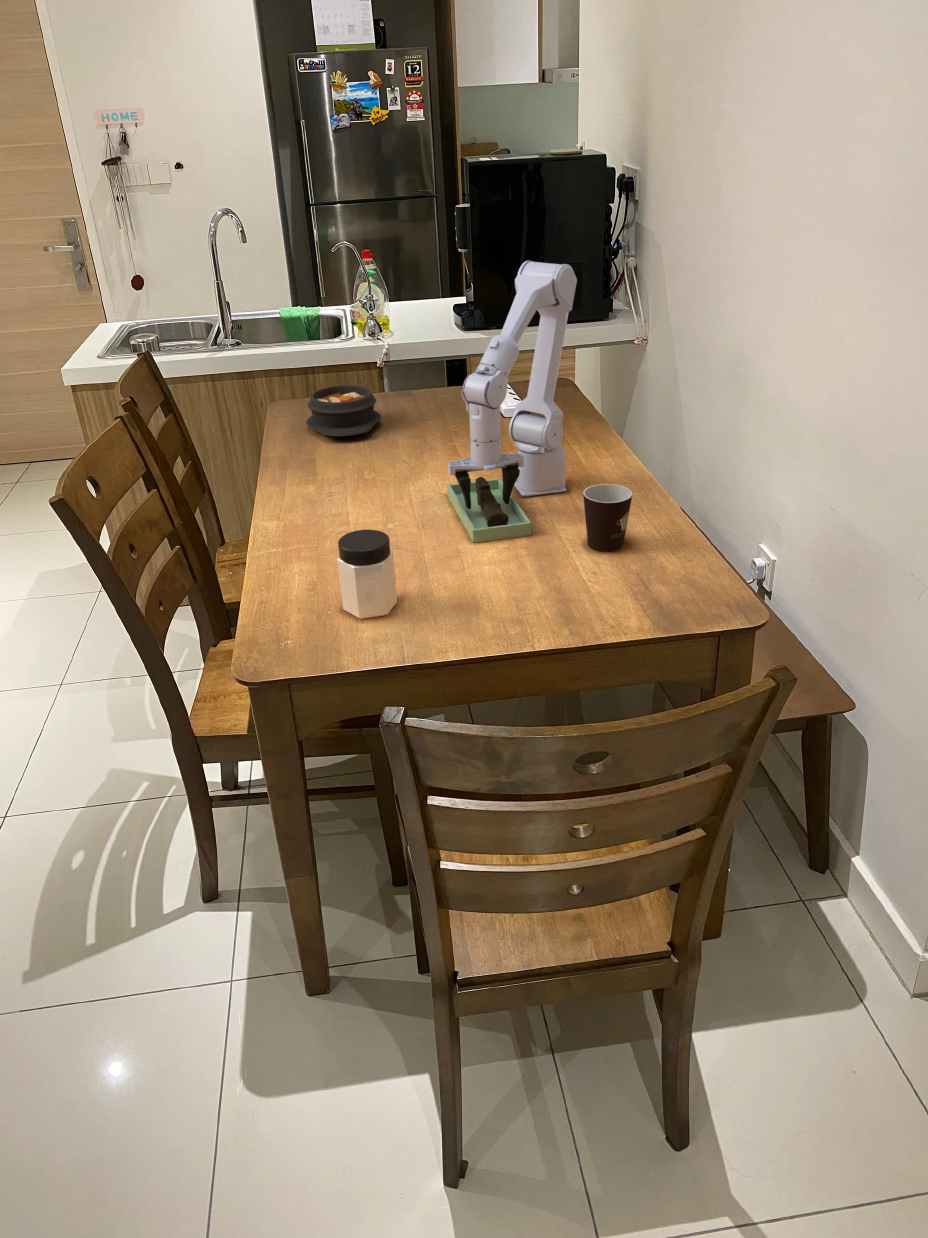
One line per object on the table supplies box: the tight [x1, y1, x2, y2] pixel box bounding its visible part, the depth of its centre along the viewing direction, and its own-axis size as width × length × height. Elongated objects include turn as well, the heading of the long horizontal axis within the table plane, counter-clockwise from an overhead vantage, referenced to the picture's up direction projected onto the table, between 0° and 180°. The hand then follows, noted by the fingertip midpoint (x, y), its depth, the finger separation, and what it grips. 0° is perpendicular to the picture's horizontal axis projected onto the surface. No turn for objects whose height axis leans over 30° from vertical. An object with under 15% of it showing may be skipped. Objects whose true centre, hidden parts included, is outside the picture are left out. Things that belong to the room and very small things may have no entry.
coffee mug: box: [582, 483, 633, 553], centre depth 168 cm, size 12×9×10 cm
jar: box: [336, 529, 398, 620], centre depth 150 cm, size 9×8×12 cm
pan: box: [446, 478, 532, 543], centre depth 182 cm, size 11×23×2 cm, turn 13°
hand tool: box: [474, 476, 509, 527], centre depth 181 cm, size 19×4×5 cm, turn 8°
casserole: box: [306, 385, 382, 438], centre depth 231 cm, size 25×19×8 cm
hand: (487, 504), depth 182 cm, fingers open, 7 cm apart
